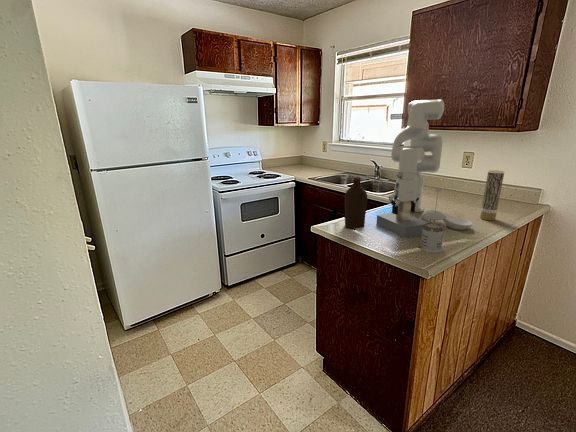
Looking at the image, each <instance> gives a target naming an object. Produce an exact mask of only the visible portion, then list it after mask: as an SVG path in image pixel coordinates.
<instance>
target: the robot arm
mask: <svg viewBox="0 0 576 432" xmlns="http://www.w3.org/2000/svg"><path fill="white" fill-rule="evenodd" d="M444 111H445V102H444V100H443V99H420V100H418V99H417V100H413V101H411V102H409V103H408V104H407V113H408V118H407V123H406V128H404V129H403V130H401V131H400V133H398V134H397V136H396V137H395V138H394V141H393V144H392V148H391V154H390V156H391V160H392V161H393V162H394V163H398V172H397V174H396V178H397V179H396V181H395V185H394V190H393V193H392V194H390V195H389V196H388V201H389V203H390V204H391V206H392V207H391V213H393V214H396V215H397V214H398V206H397V205H398V204H399V202H408V201H411V210H410V213H420V212H423V211H424V207H422V206H421V205H422V199H423V198H422V197H423V188H424V182H425V180H424V177H423V176H422V174H421V173H427V174H428V173H432V174H434V173H437V172H439V169H440V166H441V158H442V151H443V138H442V135H441V134H433V133H432V134H431V133H430V134H429V130H430V129H429V127H430V125H429V124H430V123H429V122H428V120H440V119H441V118H442V117H443V114H444ZM409 140H410V144H409V145H406V146H405V145H402V144H403V143H405V142H407V141H409ZM426 153H431V154H426Z"/></svg>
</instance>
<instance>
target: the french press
mask: <svg viewBox="0 0 576 432" xmlns="http://www.w3.org/2000/svg"><path fill="white" fill-rule="evenodd" d="M441 191H442V190H441V188H439V187H438V188H436V189H435V192H437V194H436V203H435V209H434V210H435V212H428V213H426V214H424V216H423V217H425V218H426V219H429V223H425V224H424V226H425V227H423V229H422V233H423V234H422V235H421V237H420V238H421V239H420V246H418V249H420V250H422V251H424V252H428V253H441V252H443V251H444V250H445V249H444V247H443V246H442V245H443V239H444V233H445V230H444V225H442V224H441V223H438V222H437V223H436V221H443V220H444V219H445V218H446V216H445V215H443V214H441V213H439V212H436V211H437V205H438V204H437V203H438V197H439V193H440V192H441ZM432 221H433V222H432Z"/></svg>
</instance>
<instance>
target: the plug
mask: <svg viewBox="0 0 576 432" xmlns="http://www.w3.org/2000/svg"><path fill="white" fill-rule="evenodd" d="M397 206H398V214H397V215H396V219H398V220H401V221H406V220H409V219H410V216H411V212H410V210H411V201H408V202H399V204H398V205H397Z"/></svg>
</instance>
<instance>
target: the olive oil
mask: <svg viewBox="0 0 576 432" xmlns="http://www.w3.org/2000/svg"><path fill="white" fill-rule="evenodd" d="M367 206H368V193H367V191H366V190H365V188H364V187H362V185H361V176H360V175H359V176H353V180H352V185H351V186H350V187H349V188H348V189H347V190H346V191H345V193H344V227H345V228H346V229H349V230H354V231H357V229H361V228H364V227H365V223H366V214H367Z"/></svg>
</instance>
